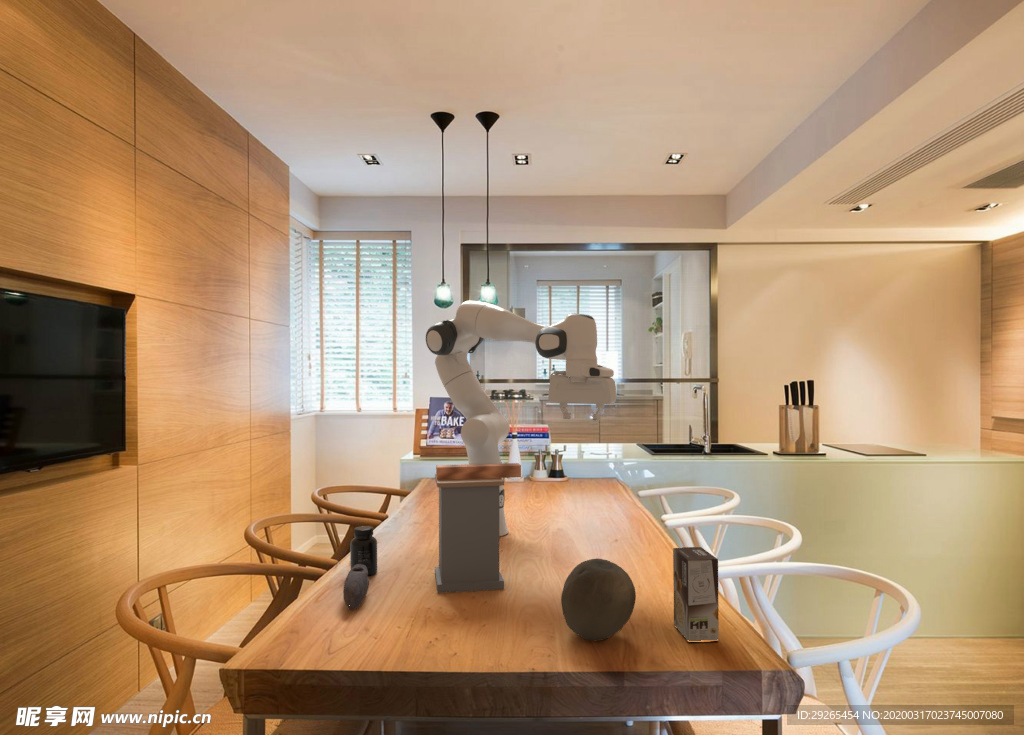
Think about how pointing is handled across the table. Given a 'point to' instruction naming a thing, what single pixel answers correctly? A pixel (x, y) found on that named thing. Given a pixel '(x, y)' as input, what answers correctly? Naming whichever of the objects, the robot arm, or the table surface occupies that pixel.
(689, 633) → the coffee box
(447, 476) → the bar
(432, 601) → the table surface
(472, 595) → the table surface
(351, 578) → the perforated stone tool
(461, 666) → the table surface
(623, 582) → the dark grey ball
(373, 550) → the supplement bottle
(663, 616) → the table surface
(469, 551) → the stand
